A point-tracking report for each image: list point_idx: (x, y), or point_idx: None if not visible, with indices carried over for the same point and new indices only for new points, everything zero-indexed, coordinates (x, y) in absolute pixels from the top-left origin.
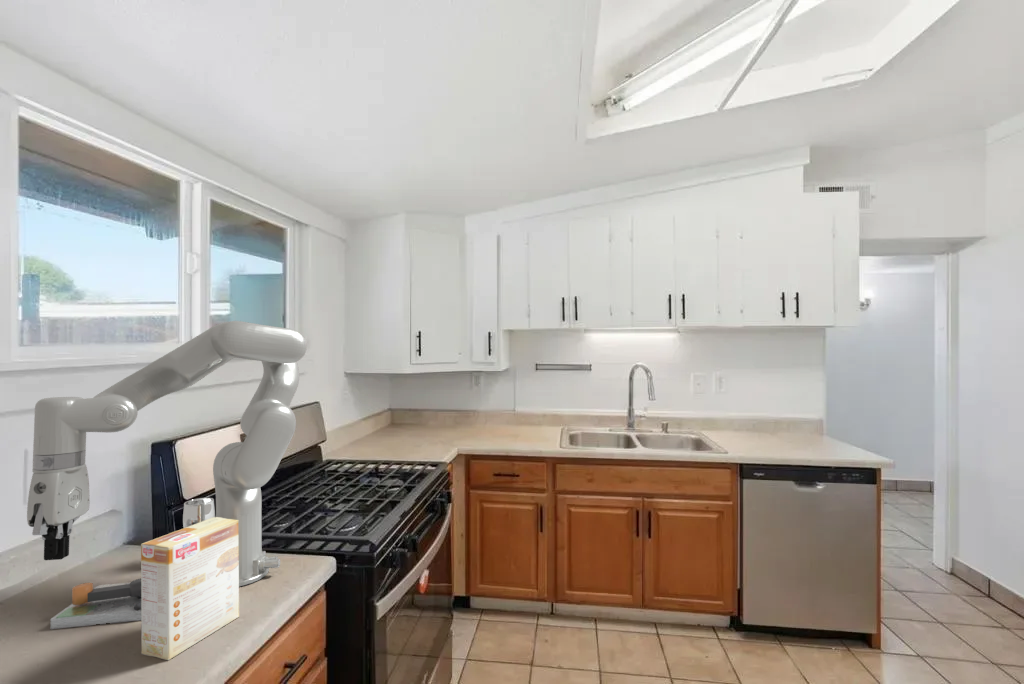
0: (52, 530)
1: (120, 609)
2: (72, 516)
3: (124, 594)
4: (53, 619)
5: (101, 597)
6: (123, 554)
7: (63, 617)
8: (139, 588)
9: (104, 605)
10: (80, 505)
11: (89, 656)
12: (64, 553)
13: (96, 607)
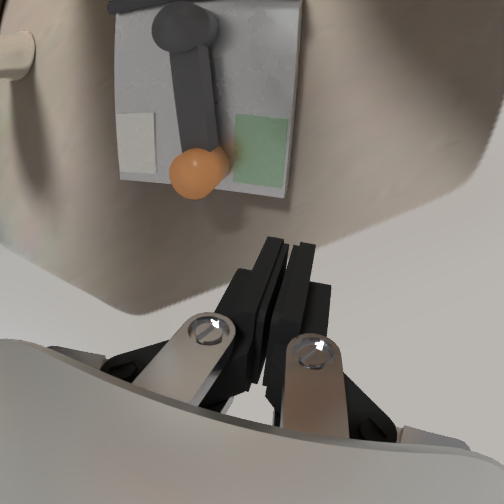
0: (381, 430)
1: (278, 38)
2: (252, 461)
3: (206, 58)
4: (284, 191)
5: (212, 115)
6: (9, 219)
7: (286, 169)
8: (207, 15)
9: (238, 95)
10: (41, 485)
11: (456, 51)
12: (301, 253)
13: (246, 111)
